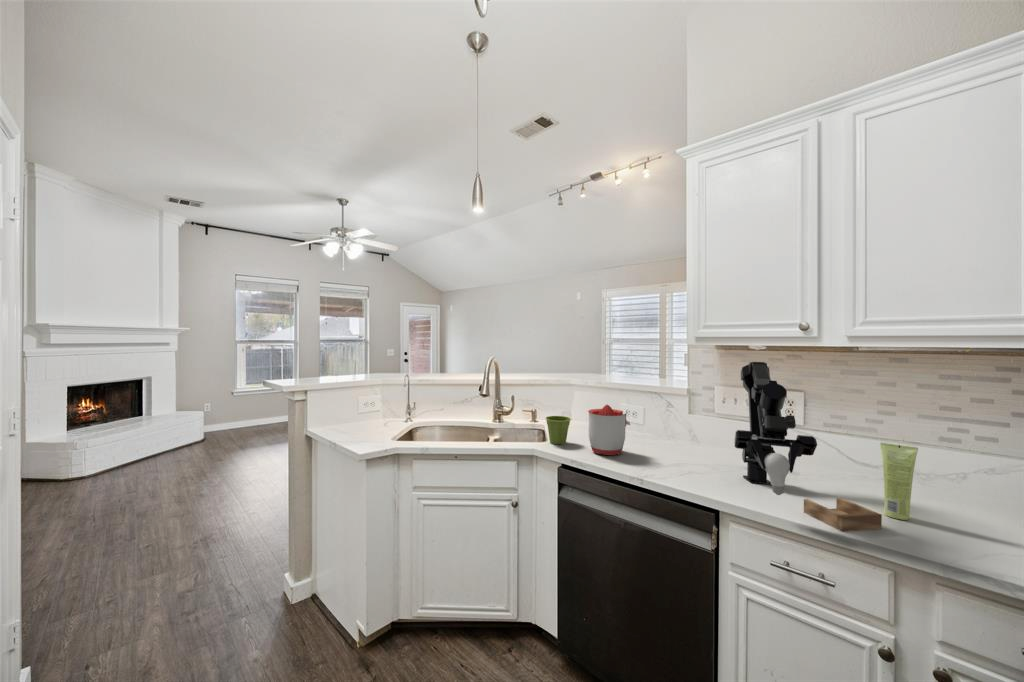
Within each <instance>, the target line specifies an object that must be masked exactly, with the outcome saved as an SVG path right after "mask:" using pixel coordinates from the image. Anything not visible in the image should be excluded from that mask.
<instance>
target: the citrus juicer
mask: <svg viewBox="0 0 1024 682" xmlns="http://www.w3.org/2000/svg"><path fill="white" fill-rule="evenodd" d="M587 412H588V439H589V444H590V449H591V451H592V452H593V453H596V454H598V455H599V454H603V456H618V455H620V454H621V453H622V451H623V449H624V445H625V440H626V427H627V426H631V423H630V421H628V420H627V413H624V412H623V410H622V409H621V410H619V409H613V408H612V407H611V406H610V405H609V404H605V405H604V406H603V407H602V408H593V409H589V410H587ZM617 454H618V455H617Z"/></svg>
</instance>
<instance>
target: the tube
mask: <svg viewBox="0 0 1024 682" xmlns="http://www.w3.org/2000/svg"><path fill="white" fill-rule="evenodd" d="M879 445H880V451H881V457H882V467H883V468H882V469H883V472H882V473H883V490H884V492H883V493H884V503H883V504H884V515H886V516H888V517H890V518H893V519H897V520H900V521H901V520H902V521H907V520H910V513H911V512H910V510H911V498H912V488H913V482H914V481H913V479H914V474H915V473H914V472H915V466H916V460H917V454H918V451H919V447H917V446H909V445H902V444H894V443H888V442H880V444H879Z"/></svg>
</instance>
